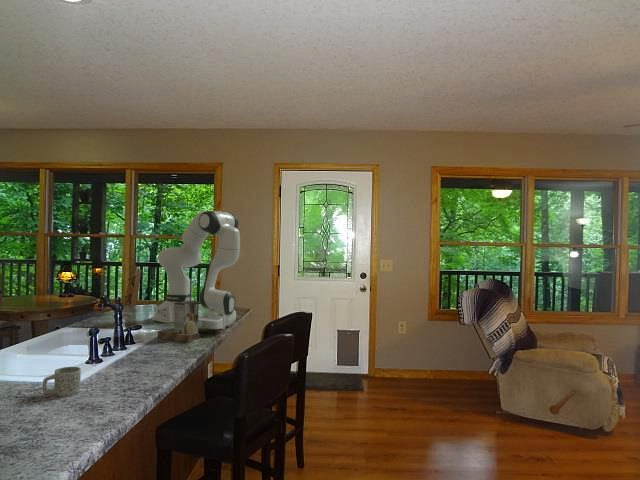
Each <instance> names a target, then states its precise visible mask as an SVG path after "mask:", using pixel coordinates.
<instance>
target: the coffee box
mask: <svg viewBox="0 0 640 480" xmlns="http://www.w3.org/2000/svg"><path fill="white" fill-rule="evenodd" d="M199 303H200V301H198V300H197V301H195V300H190V301H183V302H177V303H174V322H173V331H174V332H175V333H181V334H188V335H193V334H197V333H199V327H198V316H199V307H200V306H199Z"/></svg>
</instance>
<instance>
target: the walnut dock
mask: <svg viewBox="0 0 640 480" xmlns="http://www.w3.org/2000/svg"><path fill="white" fill-rule="evenodd" d="M200 338H201V333H199V332H198V333H197V334H193V335H188V334H181V333H175V332H174V330H173V331H168V330H158V331H157V339H162V340H168V341H174V342H181V343H187V344H190V343H193V341H194V340H199V339H200Z"/></svg>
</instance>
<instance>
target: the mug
mask: <svg viewBox="0 0 640 480" xmlns="http://www.w3.org/2000/svg"><path fill="white" fill-rule="evenodd" d="M81 372H82V369H81V367H79V366H65V367H60V368H56V369H55V370H54V374H51V375H49V376H46V377H44V378H43V379H42V393H43V395H54V396H56V397H59V398H61V397H63V398H64V397H72V396H75V395H78V394H79V393H81V374H82V373H81ZM50 380H54V383H53V384H54V385H53V386H54V388H52V389H49V390H48V389H47V385H48V382H49V381H50Z"/></svg>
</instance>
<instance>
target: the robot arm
mask: <svg viewBox="0 0 640 480" xmlns="http://www.w3.org/2000/svg"><path fill="white" fill-rule="evenodd" d="M238 228H239V219H238V217H237V216H236V215H235V214H233V213H231V212H226V211H220V210H218V211H217V210H216V211H215V210H207V211H206V210H201V211H199V212H198V213H197V214H196V215H195V216H193V218H192V219H191V221H190V222H189V224H188V225H187V227H186V228H185V230H184V231H183V233H182V235H181V240H182V242H183V244H182V245H181V246H179V247H167V248H163V249H161V250H160V251H159V253H158V255H157V260H158V264H159V265H160V266H161V267H162V268H163V269H164V270H165V272H166V273H165V274H166V275H167V280H168V293H167V294H164V298H165V300H164V301H163V302H162V303H161V304H159V305H158V306H157V307H156V308H155V313H154V316H153V315H152V316H150V320H152V321H156V322H161V323H166V324H168V323H171V324H173V323H174V303H177V302H183V301H192V295H191V279H190V277H189V276H188V275H186V273H185V270H184V269H186V268H192V267H195V266H198V265H199V264H200V263H201V260H202V254H201V252H200V250H201V247H202V245H203V243H204V242H205V240H206V239H207V237H208V235H209V234H210V235H212V236H214V235H216V237H217V247H216V248H217V249H216V253H215V254H214V257H212V258H211V259H210V261H209V263H208V266H207V271H206V273H205V274H206V276H205V278H204V282H203V287H202V289H201V292H200V294H199V298H198V299H199V303H200V305H201V306H202V307H203V308H204V309H213V310H210V311H206V312H205V313H204V314H202V315H200V316H199V315H198V328H205V330H208V331H212V330H214V331H215V330H225V329H226V327H227V326H230V325H231V324H233V323H234V322H235V321H236V319H237V311H236V310H235V308H236V298H235V295H234V293H232V291H227V290H220V289H217V288H216V286H215V285H216V283H217V279H218V275H219V273H220V271H222V270H223V269H225V268H229V267H232V266H233V265H235V264H236V263H237V262H238V260H239V258H240V254H241V253H240V252H241V251H240V250H241V234H240V230H239V229H238Z"/></svg>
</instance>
